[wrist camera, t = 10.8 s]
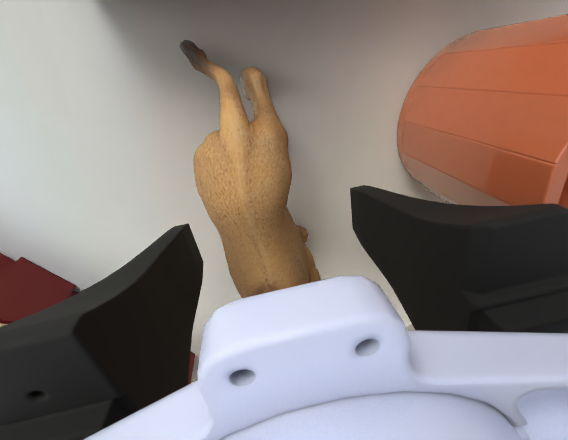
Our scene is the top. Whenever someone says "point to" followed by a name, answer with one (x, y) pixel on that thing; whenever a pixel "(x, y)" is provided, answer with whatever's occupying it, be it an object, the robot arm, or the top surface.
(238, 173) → the lion figurine
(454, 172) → the cup
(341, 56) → the top surface
